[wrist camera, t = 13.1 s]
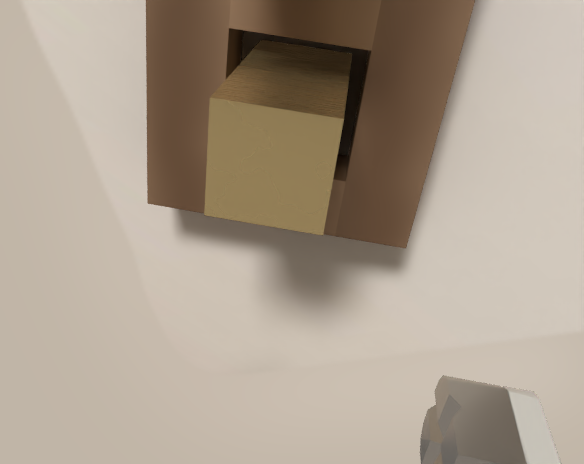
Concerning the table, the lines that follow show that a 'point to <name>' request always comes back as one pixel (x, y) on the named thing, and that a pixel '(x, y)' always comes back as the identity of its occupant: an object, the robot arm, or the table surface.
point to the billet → (277, 137)
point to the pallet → (370, 112)
